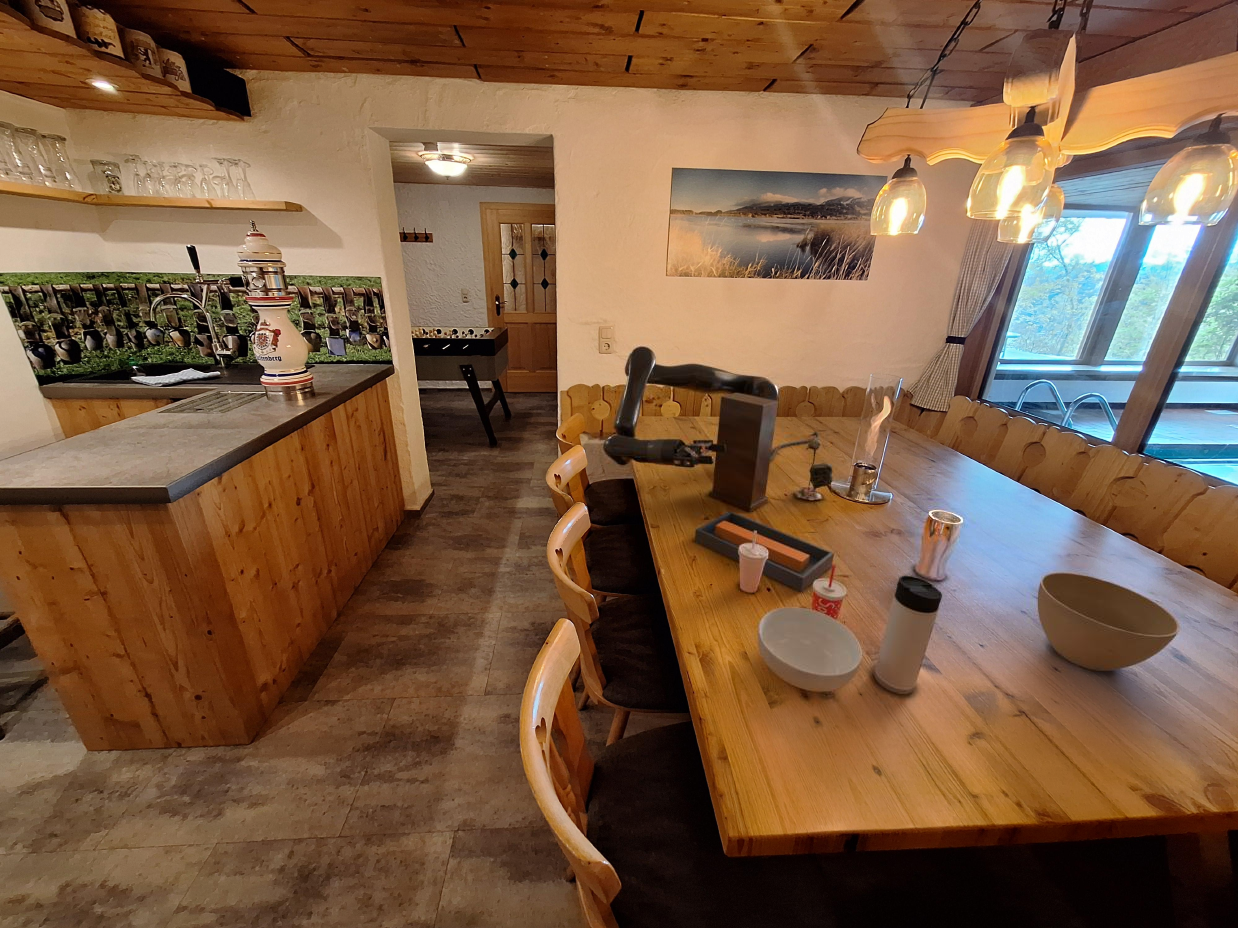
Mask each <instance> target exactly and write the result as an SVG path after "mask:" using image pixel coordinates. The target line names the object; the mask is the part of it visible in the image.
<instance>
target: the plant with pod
mask: <svg viewBox="0 0 1238 928" xmlns="http://www.w3.org/2000/svg"><path fill="white" fill-rule="evenodd" d="M811 439H812V440H811ZM811 439H810V440H811V441H810V442H808V443H807V447H806V448H805V450H806V451H808V450H809V449H810V450H813V458H812V465H811V466H810V468H809V482H808V486H806V485H803V486H802V487H801V489H800V488H799V489H795V490H794V497H796V498H799V499H802V500H809V501H816V500H823V497H822V494H821V493H820V491H817V489H820V488H824V487H827V489H828V490H829V492H830V493H831V494H833V493H834V492H833V490H832V488H831V486H830V485H831V484H832V482H833V479H834V478H833V472H834V471H833V470H834V469H833V465H831V464H830V463H828V462H821V463H820V462H819V463H815V460H816V453H817V451H818V450H819V449H820V446H821V445H822V442H821V440H819V439H816V437H812V438H811ZM811 484H812V487H811V486H810V485H811Z"/></svg>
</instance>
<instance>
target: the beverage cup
mask: <svg viewBox="0 0 1238 928" xmlns="http://www.w3.org/2000/svg"><path fill="white" fill-rule="evenodd" d="M835 570H836V564H832V566H831V572H830V577H829V578H817V579H815V580H814V581H813V582H812V585H811V586H812V600H811V608H810V609H811V610H815V611H818V612H821V613H823V614H826V615H828V616H830V617H832V618H833V619H835V620H837V621H838V619H839V615H840V612H841V608H842V605H843V601H844V599H845V598H846V596H847V593H848V592H847V588H846V587H845V586H844V585H843V584H842V583H841V582H839V581H836V580H834V574H835Z"/></svg>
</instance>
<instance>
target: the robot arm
mask: <svg viewBox="0 0 1238 928" xmlns="http://www.w3.org/2000/svg"><path fill="white" fill-rule="evenodd" d="M624 375H625V376H626V377H627V379H626V382H625V383H626V384H625V386H624V390H623V393H622V395H621V396H622V397H621V399H620V401H619V404H618V408H617V410H616V414H615V419H614V422H613V431H614V432H615V434H613V435H610V436H609V437H607V438H606V439H605V440H604V442H603V444H602V449H603V452H604V454H605V455H606V456H607V457H608V458H609V459H611V460H612V461H613V462H614V463H616V464H617V465H619V466H626V465H628V464H630V463H631V461H632V460H633V461H634V462H636V463H639V464H653V465H658V466H659V465H660V466H674V467H676V468H677V467H678V468H691V469H692V468H695V466H700V465H713V464H715V460H714V456H713V455H706V454H707V453H716V452H725V451H726V446H725V444H717V443H714V439H693V441H692V443H688V444H686V443H685V442H684V440H683V439H681V438H655V439H651V438H650V439H648V438H646V439H645V438H644V439H643V438H641V439H640V438H637V437H636V430H637V425H638V421H639V418H640V415H641V414H640V413H641V408H642V404H643V398H644V395H645V391H646V387H647V385H655V386H656V385H657V386H664V387H669V388H674V389H680V390H685V391H689V392H693V393H698V394H703V395H711V396H713V395H714V396H715V395H716V396H717V395H718V396H719V395H730V394H733V393H741V394H745V395H750V396H755V397H760V398H765V399H770V400H775V401H778V400H779V390H778V387H777V385H776V384H775V382H773V381H771V380H770V379H769V378H766V377H764V376H757V375H748V374H747V375H746V374H739V373H734V372H730V371H728V370H724V369H721V368H718V367H714V366H710V365H704V364H700V363H683V364H677V365H663V364H658V363H657V357H656V355H655V352H654V351H653V350H652V349H651V348H650V347H648V346H643V345H642V346H637V347H635V348H634V349H632V350H631V352H630V353H629V354H628V357H627V360H626V364H625V366H624ZM778 402H779V401H778ZM813 435H814V436H815V438H816V439H817V440H819V433H818V432H817V431H814V433H813ZM811 440H812V438H811V439H805V440H800V441H799V440H798V441H792V442H788V443H784V444H780V445H778V446H776V447H775V448H774V449H773V451H772V452H771V458H770V461H772V459H773V458H774V456H775V455H776V452H777V451H779V450H780V449H781V448H785V447H788V446H792V445H799V444H800V445H801V444H805V443H809V442H810V441H811Z"/></svg>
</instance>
